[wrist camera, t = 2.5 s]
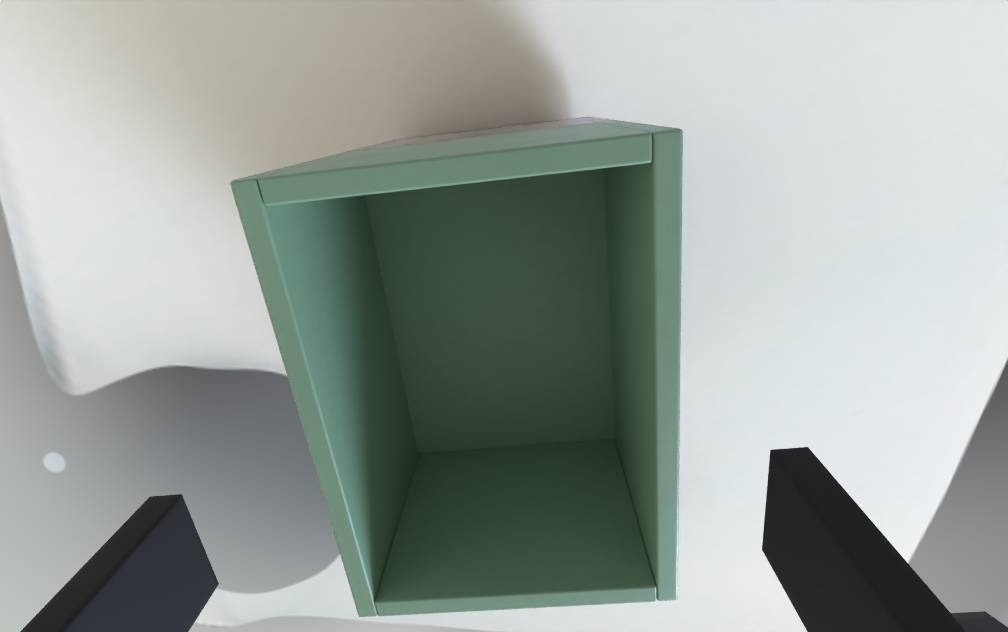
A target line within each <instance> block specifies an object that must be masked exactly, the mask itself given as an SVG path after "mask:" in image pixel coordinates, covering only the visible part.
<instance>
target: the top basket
mask: <svg viewBox="0 0 1008 632" xmlns="http://www.w3.org/2000/svg"><path fill="white" fill-rule="evenodd" d="M682 153H683V132H682V130H681V129H677V128H670V127H662V126H655V125H647V124H639V123H632V122H624V121H617V120H615V121H606V122H598V123H589V124H581V125H573V126H564V127H556V128H547V129H539V130H530V131H522V132H513V133H505V134H497V135H488V136H480V137H471V138H463V139H454V140H446V141H437V142H429V143H420V144H412V145H404V146H395V147H387V148H378V149H370V150H361V151H353V152H345V153H341V154H337V155H333V156H329V157H325V158H321V159H317V160H313V161H309V162H305V163H301V164H297V165H293V166H289V167H285V168H281V169H277V170H273V171H269V172H265V173H261V174H257V175H253V176H249V177H245V178H241V179H237V180H233V181H232V182H231V188H232V191H233V195H234V198H235V201H236V205H237V208H238V211H239V215H240V218H241V222H242V225H243V228H244V232H245V235H246V238H247V242H248V245H249V248H250V252H251V255H252V259H253V262H254V265H255V269H256V272H257V275H258V279H259V282H260V285H261V289H262V292H263V296H264V299H265V302H266V306H267V309H268V312H269V316H270V319H271V322H272V326H273V329H274V332H275V336H276V339H277V343H278V346H279V349H280V353H281V356H282V359H283V363H284V366H285V369H286V373H287V376H288V380H289V383H290V386H291V389H292V393H293V396H294V400H295V403H296V406H297V410H298V413H299V417H300V420H301V423H302V426H303V430H304V433H305V437H306V440H307V443H308V447H309V450H310V453H311V457H312V460H313V463H314V466H315V470H316V474H317V477H318V480H319V484H320V487H321V490H322V494H323V497H324V501H325V503H326V507H327V511H328V514H329V517H330V521H331V524H332V527H333V531H334V534H335V537H336V541H337V544H338V548H339V551H340V554H341V558H342V561H343V564H344V568H345V571H346V575H347V578H348V581H349V585H350V588H351V591H352V595H353V598H354V601H355V605H356V608H357V612H358V615H359V617H369V616H377V615H378V616H392V615H411V614H430V613H448V612H467V611H486V610H504V609H523V608H542V607H560V606H579V605H598V604H616V603H635V602H654V601H656V599H657V600H658V601H667V600H677V597H678V512H679V422H680V332H681V243H682Z"/></svg>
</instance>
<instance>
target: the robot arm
mask: <svg viewBox="0 0 1008 632" xmlns="http://www.w3.org/2000/svg"><path fill="white" fill-rule="evenodd" d="M762 550H763V552H764V554H765V556H766V557H767V559H768V561H769V563H770V565H771V566H772V568H773V570H774V572H775V574H776V575H777V577H778V579H779V581H780V583H781V584H782V586H783V588H784V590H785V592H786V593H787V595H788V597H789V599H790V601H791V603H792V604H793V606H794V608H795V610H796V612H797V613H798V615H799V617H800V619H801V621H802V622H803V624H804V626H805V628H806V630H807V631H808V632H1008V627H1006V626H1005V625H1003V624H1002V623H1001V622H999V621H998V620H996V619H995V618H994V617H992V616H991V615H989V614H988V613H986V612H968V613H950V612H949V611H948V610H947V609H946V607H945V606H944V605H943V604H942V603H941V602H940V601H939V599H938V598H937V597H936V596H935V595H934V593H933V592H932V591H931V590H930V589H929V588H928V586H927V585H926V584H925V583H924V582H923V581H922V579H921V578H920V577H919V576H918V575H917V574H916V573H915V571H914V570H913V569H912V568H911V567H910V566H909V564H908V563H907V562H906V561H905V560H904V559H903V557H902V556H901V555H900V554H899V553H898V552H897V550H896V549H895V548H894V547H893V546H892V545H891V543H890V542H889V541H888V540H887V539H886V538H885V536H884V535H883V534H882V533H881V532H880V531H879V529H878V528H877V527H876V526H875V525H874V524H873V522H872V521H871V520H870V519H869V518H868V517H867V515H866V514H865V513H864V512H863V511H862V510H861V508H860V507H859V506H858V505H857V504H856V503H855V502H854V500H853V499H852V498H851V497H850V496H849V495H848V493H847V492H846V491H845V490H844V489H843V488H842V486H841V485H840V484H839V483H838V482H837V481H836V479H835V478H834V477H833V476H832V475H831V474H830V472H829V471H828V470H827V469H826V468H825V467H824V465H823V464H822V463H821V462H820V461H819V460H818V458H817V457H816V456H815V455H814V454H813V453H812V451H811V450H810V449H809V448H808V447H803V448H790V449H777V450H771V451H770V463H769V474H768V486H767V498H766V510H765V522H764V534H763V546H762ZM218 584H219V583H218V581H217V579H216V576H215V574H214V571H213V569H212V566H211V564H210V562H209V559H208V557H207V554H206V552H205V550H204V547H203V545H202V542H201V540H200V537H199V535H198V533H197V530H196V528H195V525H194V523H193V521H192V518H191V516H190V513H189V511H188V509H187V506H186V504H185V501H184V499H183V496H182V495H167V496H153V497H149V498H148V499H147V500H146V501H145V502H144V504H143V505H142V506H141V507H140V508H139V509H138V510H137V511H136V512H135V513H134V514H133V515H132V516H131V517H130V518H129V519H128V520H127V521H126V522H125V523H124V524H123V525H122V527H121V528H120V529H119V530H118V531H117V532H116V533H115V534H114V535H113V536H112V537H111V538H110V539H109V540H108V541H107V542H106V543H105V544H104V545H103V546H102V547H101V548H100V549H99V550H98V551H97V552H96V553H95V555H94V556H93V557H92V558H91V559H90V560H89V561H88V562H87V563H86V564H85V565H84V566H83V567H82V568H81V569H80V570H79V571H78V572H77V573H76V575H74V576H73V578H71V580H70V581H69V582H68V583H67V584H66V585H65V586H64V587H63V588H62V589H61V590H60V591H59V592H58V593H57V594H56V595H55V596H54V597H53V598H52V599H51V600H50V601H49V602H48V604H47V605H46V606H45V607H44V608H43V609H42V610H41V611H40V612H39V613H38V614H37V615H36V616H35V617H34V618H33V619H32V620H31V621H30V622H29V623H28V624H27V625H26V626H25V627H24V628H23V630H22V631H21V632H188V631H189V630H190V628H191V626H192V625H193V623H194V622H195V620H196V619H197V617H198V616H199V614H200V612H201V611H202V609H203V608H204V606H205V605H206V603H207V602H208V600H209V598H210V597H211V595H212V594H213V592H214V591H215V589H216V587H217V586H218Z"/></svg>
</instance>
